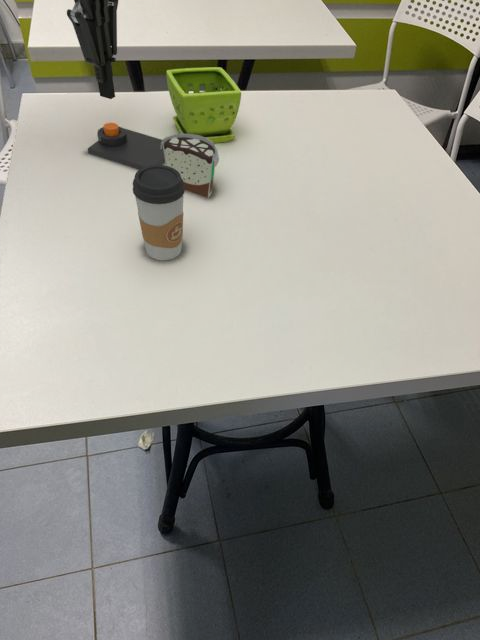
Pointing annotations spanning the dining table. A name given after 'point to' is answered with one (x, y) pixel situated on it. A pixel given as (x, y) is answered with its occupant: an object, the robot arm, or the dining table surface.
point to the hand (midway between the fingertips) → (107, 96)
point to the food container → (192, 161)
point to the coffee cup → (160, 210)
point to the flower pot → (204, 102)
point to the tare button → (111, 129)
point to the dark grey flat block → (129, 148)
